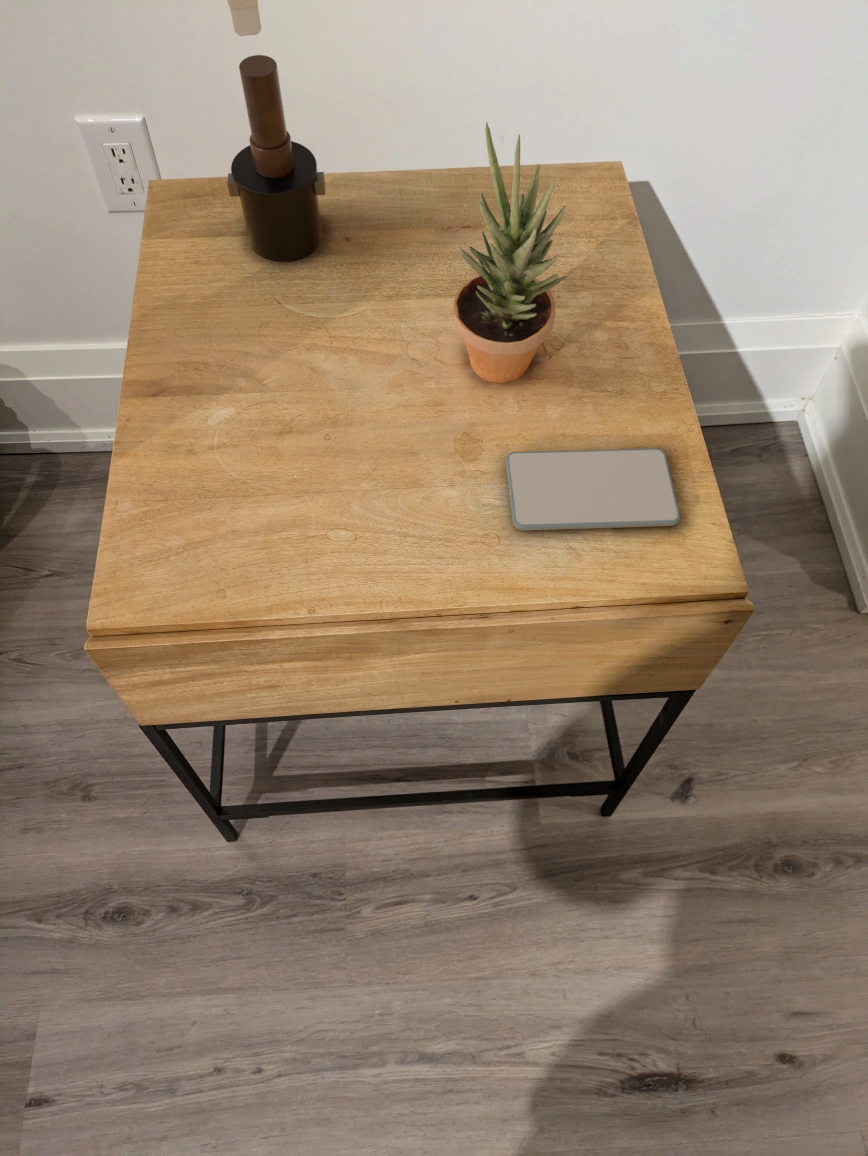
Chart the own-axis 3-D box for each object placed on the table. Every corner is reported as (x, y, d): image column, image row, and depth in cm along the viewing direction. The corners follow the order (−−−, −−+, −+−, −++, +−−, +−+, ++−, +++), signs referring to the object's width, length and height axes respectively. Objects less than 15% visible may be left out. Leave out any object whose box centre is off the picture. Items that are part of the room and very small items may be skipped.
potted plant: (440, 335, 86) (447, 98, 65) (528, 318, 87) (564, 81, 66) (467, 409, 82) (485, 181, 60) (560, 390, 83) (610, 160, 61)
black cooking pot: (238, 265, 91) (221, 194, 83) (243, 211, 95) (228, 139, 87) (329, 263, 91) (321, 192, 83) (330, 210, 95) (323, 138, 88)
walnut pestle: (253, 178, 84) (234, 78, 76) (255, 153, 86) (237, 53, 77) (293, 178, 84) (279, 78, 76) (295, 152, 86) (281, 52, 78)
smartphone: (682, 522, 75) (514, 527, 74) (679, 528, 75) (512, 533, 75) (664, 446, 79) (504, 450, 78) (662, 453, 79) (503, 457, 79)
